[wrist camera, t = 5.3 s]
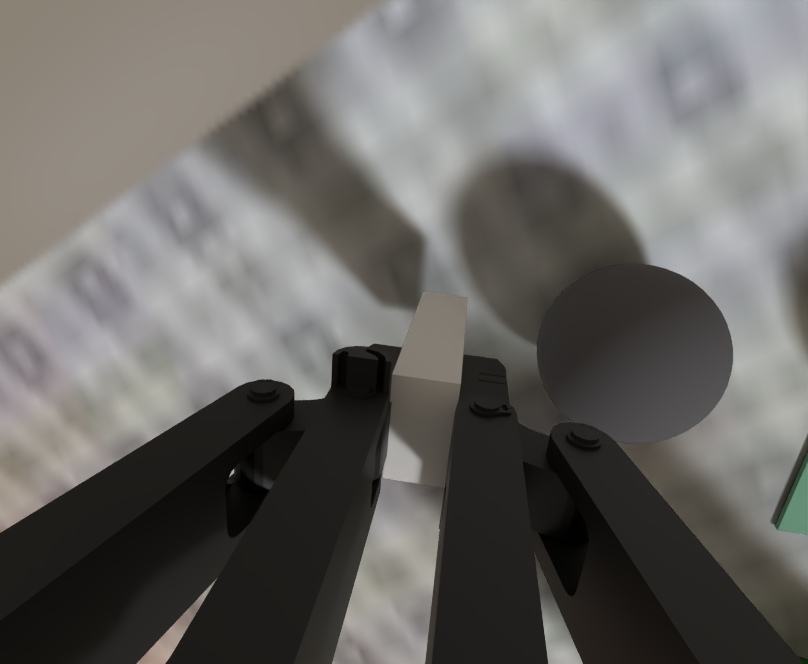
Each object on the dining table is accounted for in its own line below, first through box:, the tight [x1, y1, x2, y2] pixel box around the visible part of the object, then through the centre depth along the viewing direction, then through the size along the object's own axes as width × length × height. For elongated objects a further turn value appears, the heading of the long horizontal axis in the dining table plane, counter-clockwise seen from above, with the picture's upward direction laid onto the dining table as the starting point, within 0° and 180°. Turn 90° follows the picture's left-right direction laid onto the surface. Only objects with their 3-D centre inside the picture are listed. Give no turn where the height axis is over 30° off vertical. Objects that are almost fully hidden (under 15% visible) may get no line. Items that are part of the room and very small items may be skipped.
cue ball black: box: [537, 264, 733, 443], centre depth 16 cm, size 6×6×6 cm
